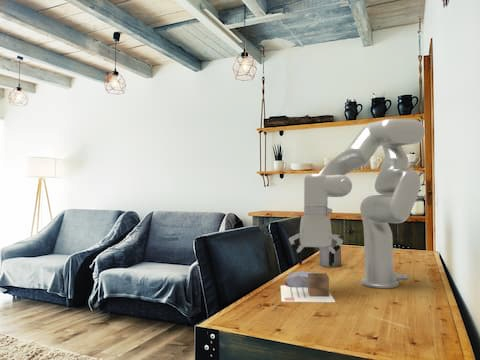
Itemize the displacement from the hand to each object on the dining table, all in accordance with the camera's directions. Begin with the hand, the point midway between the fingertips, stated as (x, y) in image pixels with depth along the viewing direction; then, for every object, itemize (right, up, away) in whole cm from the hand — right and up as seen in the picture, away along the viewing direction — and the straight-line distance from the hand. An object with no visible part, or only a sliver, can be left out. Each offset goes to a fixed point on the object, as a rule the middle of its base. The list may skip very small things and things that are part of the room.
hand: (315, 265), depth 120 cm
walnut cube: (+1, -9, 0) cm, 9 cm away
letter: (-3, -10, +1) cm, 10 cm away
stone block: (-3, -10, +14) cm, 18 cm away
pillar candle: (+17, -12, +49) cm, 53 cm away
